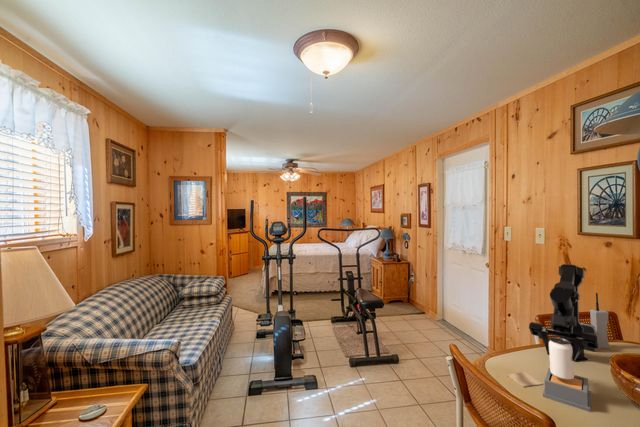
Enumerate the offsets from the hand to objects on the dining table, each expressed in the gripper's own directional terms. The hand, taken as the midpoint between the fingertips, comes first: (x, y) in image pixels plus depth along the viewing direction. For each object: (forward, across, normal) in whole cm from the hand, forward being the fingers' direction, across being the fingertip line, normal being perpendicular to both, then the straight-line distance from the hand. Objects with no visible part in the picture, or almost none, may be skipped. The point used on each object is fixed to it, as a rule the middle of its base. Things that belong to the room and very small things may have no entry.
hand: (560, 357), depth 100 cm
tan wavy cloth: (+8, -12, +11) cm, 18 cm away
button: (+7, +1, +8) cm, 11 cm away
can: (+4, 0, +6) cm, 7 cm away
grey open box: (+9, +1, +10) cm, 13 cm away
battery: (-25, +3, +45) cm, 52 cm away
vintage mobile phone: (-30, +8, +50) cm, 59 cm away
